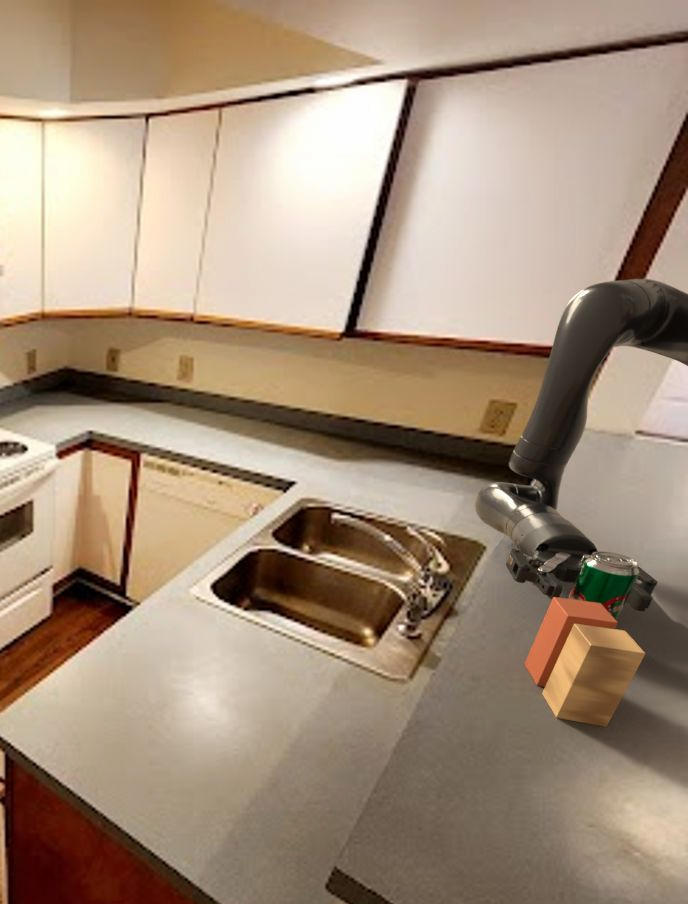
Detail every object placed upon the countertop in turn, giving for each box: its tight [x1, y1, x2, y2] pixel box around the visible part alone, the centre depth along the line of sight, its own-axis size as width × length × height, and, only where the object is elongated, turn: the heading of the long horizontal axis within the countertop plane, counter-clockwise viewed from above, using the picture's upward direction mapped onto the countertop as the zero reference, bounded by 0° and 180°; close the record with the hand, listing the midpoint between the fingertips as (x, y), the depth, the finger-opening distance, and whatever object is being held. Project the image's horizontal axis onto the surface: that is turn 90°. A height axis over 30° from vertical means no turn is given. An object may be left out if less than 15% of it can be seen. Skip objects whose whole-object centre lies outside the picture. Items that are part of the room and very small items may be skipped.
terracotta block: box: [524, 597, 619, 688], centre depth 74 cm, size 4×4×10 cm
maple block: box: [541, 624, 646, 728], centre depth 69 cm, size 4×4×10 cm
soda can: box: [566, 551, 640, 622], centre depth 80 cm, size 5×5×12 cm
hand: (599, 599), depth 79 cm, fingers open, 8 cm apart
